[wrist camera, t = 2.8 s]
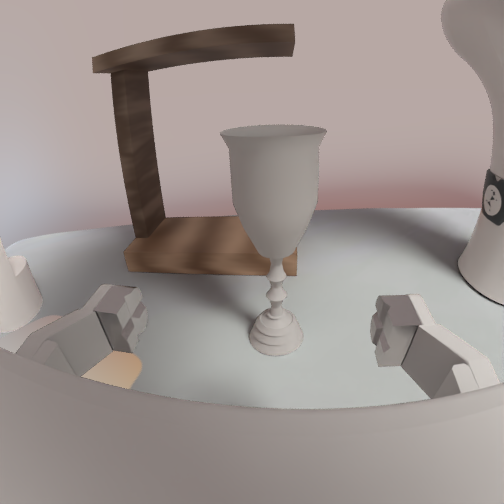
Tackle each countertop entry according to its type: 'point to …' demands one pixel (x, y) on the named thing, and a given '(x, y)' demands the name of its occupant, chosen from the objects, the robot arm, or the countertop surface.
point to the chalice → (275, 211)
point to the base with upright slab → (17, 293)
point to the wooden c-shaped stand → (145, 162)
